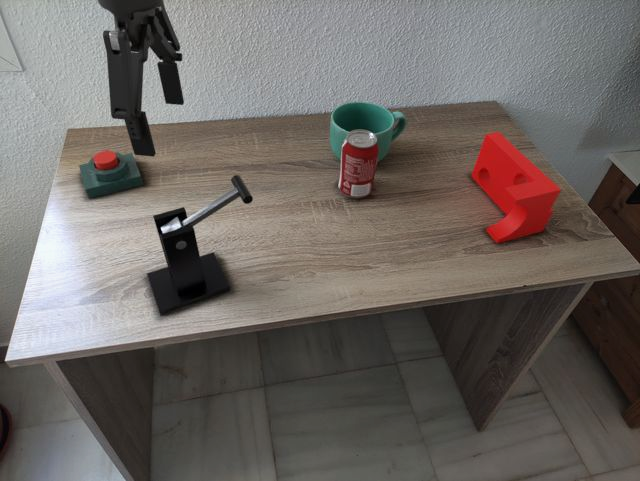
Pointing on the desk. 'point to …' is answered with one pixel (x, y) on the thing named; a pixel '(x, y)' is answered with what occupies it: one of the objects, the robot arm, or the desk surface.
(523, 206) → the bracket
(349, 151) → the soda can
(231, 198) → the lever
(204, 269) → the bracket
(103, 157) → the button
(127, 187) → the button box
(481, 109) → the desk surface
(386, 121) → the mug
